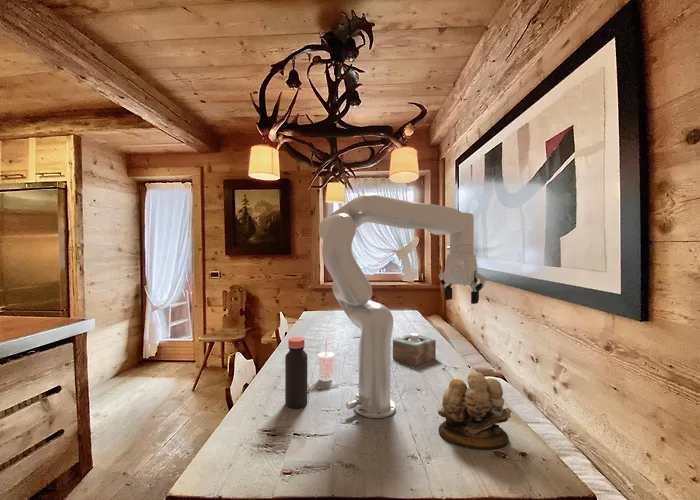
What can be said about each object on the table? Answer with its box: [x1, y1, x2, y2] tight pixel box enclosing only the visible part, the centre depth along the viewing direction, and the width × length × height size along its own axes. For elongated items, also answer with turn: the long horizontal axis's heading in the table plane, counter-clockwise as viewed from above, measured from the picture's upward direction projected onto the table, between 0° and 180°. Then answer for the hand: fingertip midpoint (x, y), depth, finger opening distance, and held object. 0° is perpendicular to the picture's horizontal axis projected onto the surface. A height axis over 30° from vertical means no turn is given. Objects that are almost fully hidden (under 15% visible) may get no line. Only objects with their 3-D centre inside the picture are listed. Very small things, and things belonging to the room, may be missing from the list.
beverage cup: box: [317, 340, 335, 382], centre depth 120 cm, size 6×6×14 cm
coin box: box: [392, 334, 437, 367], centre depth 142 cm, size 14×12×8 cm
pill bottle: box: [408, 332, 420, 343], centre depth 142 cm, size 5×5×10 cm
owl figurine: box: [437, 370, 513, 451], centre depth 84 cm, size 18×12×17 cm, turn 83°
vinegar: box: [284, 336, 308, 410], centre depth 101 cm, size 7×7×20 cm
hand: (461, 301), depth 109 cm, fingers open, 9 cm apart
